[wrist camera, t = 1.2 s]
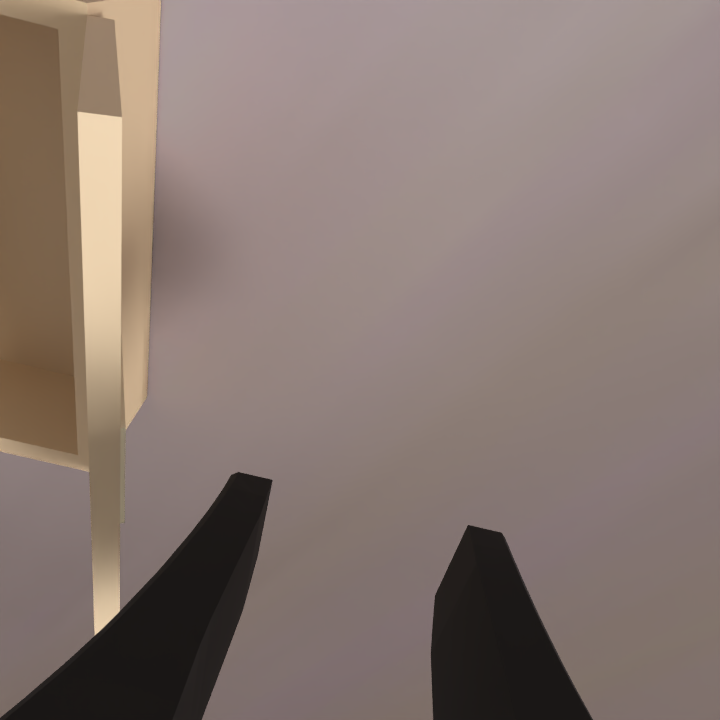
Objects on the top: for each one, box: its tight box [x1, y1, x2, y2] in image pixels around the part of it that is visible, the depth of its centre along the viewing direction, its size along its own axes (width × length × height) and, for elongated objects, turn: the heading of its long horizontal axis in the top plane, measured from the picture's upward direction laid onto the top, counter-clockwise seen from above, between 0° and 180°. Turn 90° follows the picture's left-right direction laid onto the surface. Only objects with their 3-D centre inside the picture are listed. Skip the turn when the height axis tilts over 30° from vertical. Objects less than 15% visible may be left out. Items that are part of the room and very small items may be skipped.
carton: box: [0, 0, 161, 472], centre depth 17 cm, size 13×7×4 cm, turn 168°
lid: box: [77, 15, 126, 635], centre depth 13 cm, size 13×6×1 cm
